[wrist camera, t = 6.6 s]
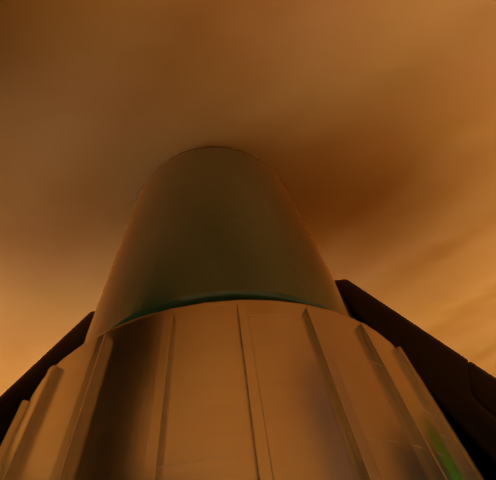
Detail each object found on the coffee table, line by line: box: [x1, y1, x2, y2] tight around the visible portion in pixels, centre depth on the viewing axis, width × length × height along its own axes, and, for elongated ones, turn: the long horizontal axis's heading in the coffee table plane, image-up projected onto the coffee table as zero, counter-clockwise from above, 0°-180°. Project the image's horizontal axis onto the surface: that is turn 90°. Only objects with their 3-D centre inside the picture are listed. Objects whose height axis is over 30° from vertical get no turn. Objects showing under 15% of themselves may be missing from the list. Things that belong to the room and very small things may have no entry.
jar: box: [82, 147, 354, 345], centre depth 8 cm, size 6×6×9 cm
